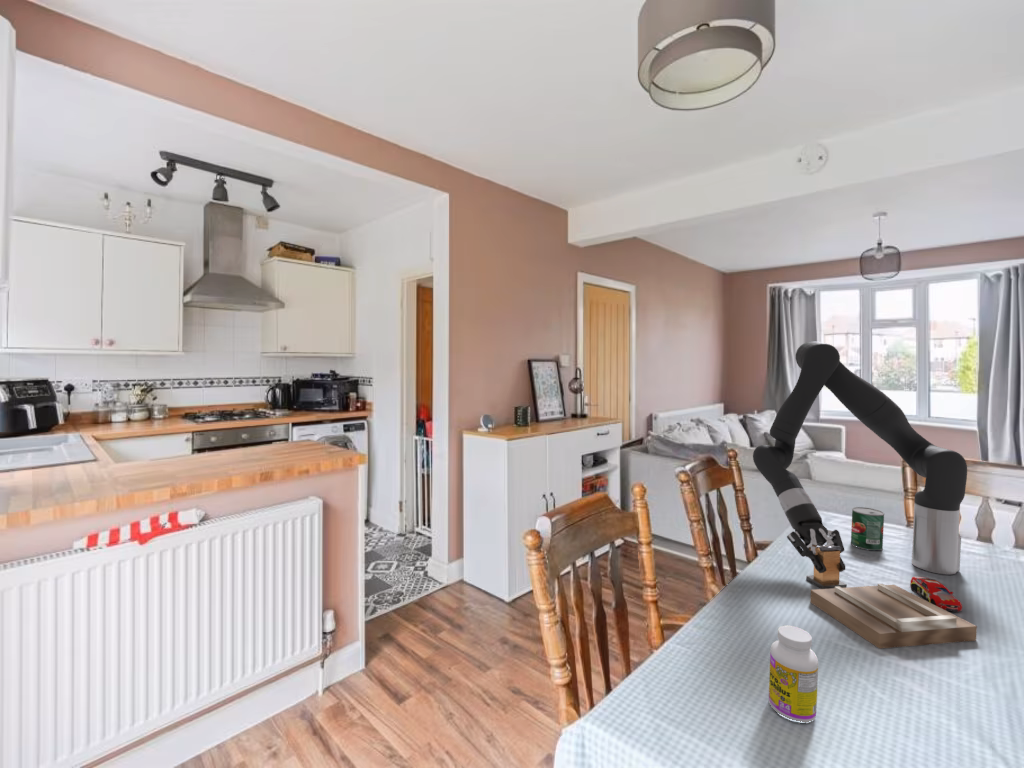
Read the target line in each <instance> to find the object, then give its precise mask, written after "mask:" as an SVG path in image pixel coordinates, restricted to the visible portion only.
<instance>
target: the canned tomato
mask: <svg viewBox="0 0 1024 768" xmlns="http://www.w3.org/2000/svg"><path fill="white" fill-rule="evenodd" d="M851 510H852V512H851V530H850V531H851V532H850V545H852V544H853V545H854V546H853V545H852V546H853V547H855V546H857V547H859V548H858V549H860V548H862V549H861V550H864V549H868V550H867V551H869V550H881V551H883V550H884V549H883V546H884V545H883V544H884V543H883V542H884V523H885V513H884V511H882V510H879V509H875V508H872V507H866V506H865V507H863V506H861V507H860V506H856V507H855V506H854V507H852V508H851ZM857 547H856V548H857Z"/></svg>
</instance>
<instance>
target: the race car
mask: <svg viewBox="0 0 1024 768" xmlns="http://www.w3.org/2000/svg"><path fill="white" fill-rule="evenodd" d="M910 587H911V590H912V591H914V592H915V593H916V594H918V595H919V597H920V596H921V597H922V599H924V600H926V601H928V602H930V603H932V604H934V605H936V606H938V607H940V608H942V609H944V610H946V611H948V612H952V613H953V612H955V613H956V612H957V613H960V612H962V610H963V605H962V602H961V601H960V600H958V598H957V597H955V596H954V595H953V594H954V592H953V591H951V590H949V589H948V588H947V586H945V585H944V584H942V583H941V582H940V581H938V580H936V579H934V578H929V577H924V576H912V577H911V579H910Z"/></svg>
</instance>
